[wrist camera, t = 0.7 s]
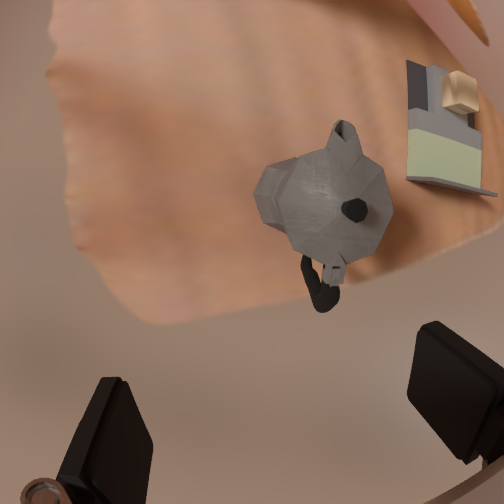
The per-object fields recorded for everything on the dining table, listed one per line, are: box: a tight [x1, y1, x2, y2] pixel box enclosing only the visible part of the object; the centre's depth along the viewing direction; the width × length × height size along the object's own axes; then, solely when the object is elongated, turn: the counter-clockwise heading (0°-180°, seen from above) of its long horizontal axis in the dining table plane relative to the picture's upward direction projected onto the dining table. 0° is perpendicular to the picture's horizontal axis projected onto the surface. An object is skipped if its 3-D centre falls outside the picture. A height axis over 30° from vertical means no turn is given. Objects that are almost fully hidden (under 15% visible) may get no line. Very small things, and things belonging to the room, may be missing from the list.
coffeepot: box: [253, 120, 394, 313], centre depth 28 cm, size 15×9×18 cm, turn 177°
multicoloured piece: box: [406, 60, 498, 197], centre depth 34 cm, size 18×14×6 cm
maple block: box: [441, 70, 479, 115], centre depth 32 cm, size 5×4×4 cm
